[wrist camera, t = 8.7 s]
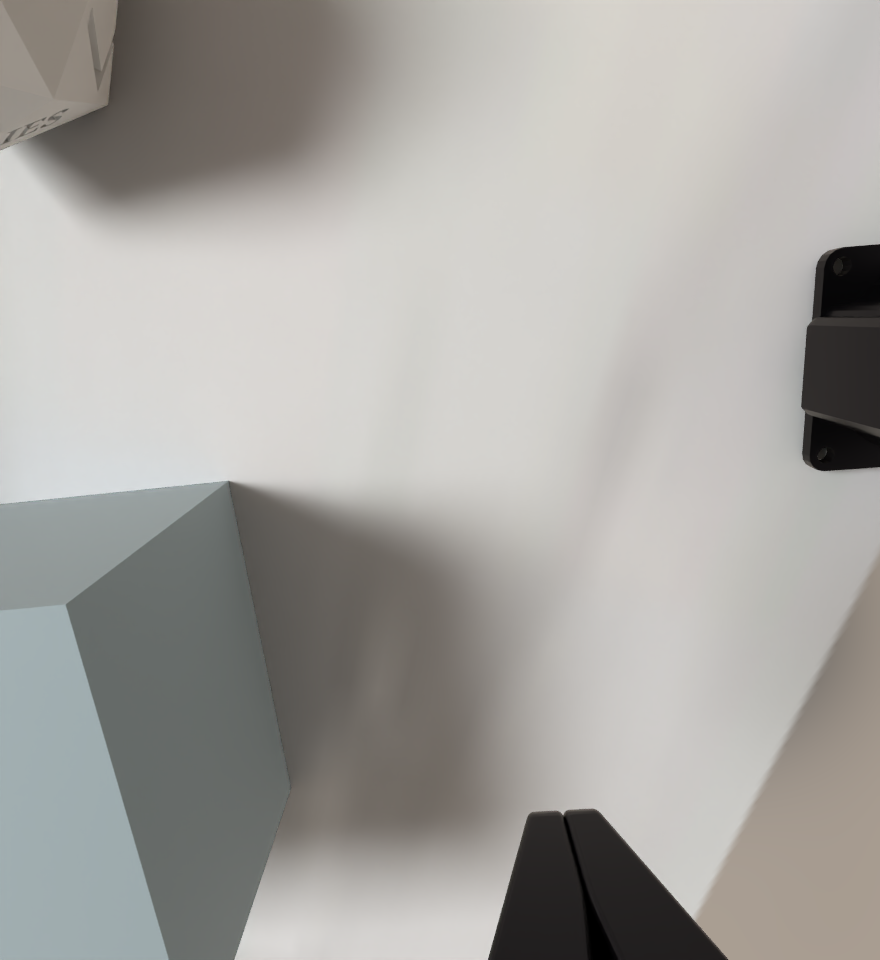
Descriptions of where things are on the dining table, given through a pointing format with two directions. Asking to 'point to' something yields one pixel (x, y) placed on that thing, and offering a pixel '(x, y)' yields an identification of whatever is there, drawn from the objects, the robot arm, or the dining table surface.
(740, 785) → the dining table surface
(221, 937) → the slate block
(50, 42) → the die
